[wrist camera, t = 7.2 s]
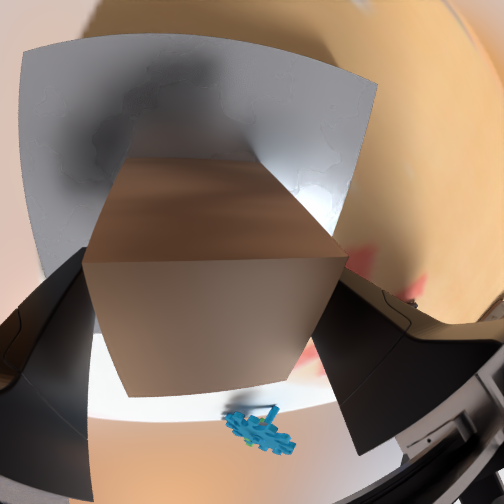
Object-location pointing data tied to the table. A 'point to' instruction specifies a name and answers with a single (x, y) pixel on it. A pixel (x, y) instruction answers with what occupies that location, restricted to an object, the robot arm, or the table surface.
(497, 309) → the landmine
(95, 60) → the base plate
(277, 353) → the walnut block
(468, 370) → the robot arm
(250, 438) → the blue spiky blob
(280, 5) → the table surface
